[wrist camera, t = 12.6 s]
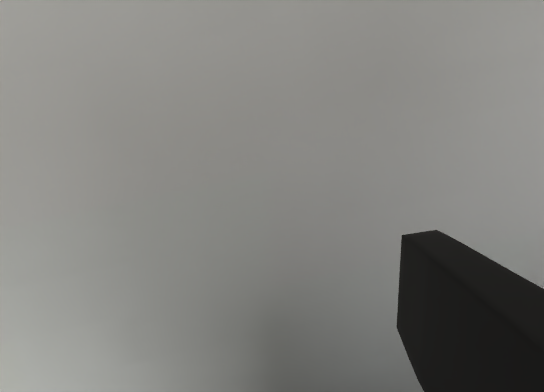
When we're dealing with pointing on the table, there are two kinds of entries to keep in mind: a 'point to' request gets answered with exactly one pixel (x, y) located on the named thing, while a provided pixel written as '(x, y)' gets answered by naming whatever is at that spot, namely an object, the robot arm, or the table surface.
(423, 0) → the table surface
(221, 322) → the table surface
